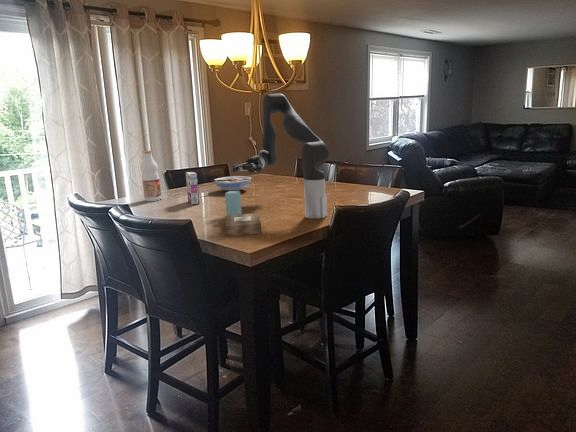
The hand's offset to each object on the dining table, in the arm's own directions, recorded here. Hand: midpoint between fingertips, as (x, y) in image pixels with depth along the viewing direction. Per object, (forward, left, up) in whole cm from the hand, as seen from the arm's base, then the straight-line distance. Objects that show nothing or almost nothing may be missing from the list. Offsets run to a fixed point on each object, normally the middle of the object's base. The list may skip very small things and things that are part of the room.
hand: (242, 170), depth 209 cm
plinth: (-13, +26, -20) cm, 35 cm away
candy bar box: (+39, -15, -21) cm, 47 cm away
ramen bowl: (+34, -50, -21) cm, 64 cm away
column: (0, +10, -20) cm, 23 cm away
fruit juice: (+68, -17, -21) cm, 73 cm away
